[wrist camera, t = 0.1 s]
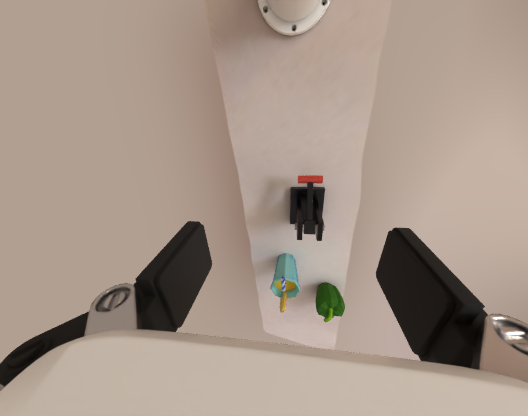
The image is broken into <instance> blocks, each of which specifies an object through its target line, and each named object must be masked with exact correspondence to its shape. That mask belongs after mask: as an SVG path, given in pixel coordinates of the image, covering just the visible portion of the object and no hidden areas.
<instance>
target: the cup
mask: <svg viewBox="0 0 528 416" xmlns="http://www.w3.org/2000/svg"><path fill="white" fill-rule="evenodd" d="M270 288H271V290H272V291H273V293H274V294H275V296H278V297H281V299H280V312H284V311H285V307H286V299H288V298H292V297H296V296H297V294H298V293H299V291H300V286H299V283H298V276H297V270H296V263H295V259H294V257H293V256H292V255H289V254H282V255H280V256H279V258H278V261H277V265H276V270H275V274H274V279H273V282H272V284H271V287H270Z"/></svg>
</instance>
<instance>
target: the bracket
mask: <svg viewBox="0 0 528 416" xmlns="http://www.w3.org/2000/svg"><path fill="white" fill-rule="evenodd" d="M324 194H325V188H324V187H313V210H312V220H315V234H316V239H317V241H322V233H323V231H324V228H325V227H324V222H323V219H322V212H323V203H324ZM304 220H307V187H291V208H290V224H295V230H297V240H302V230H303V224H304Z"/></svg>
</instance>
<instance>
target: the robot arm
mask: <svg viewBox="0 0 528 416" xmlns="http://www.w3.org/2000/svg"><path fill="white" fill-rule="evenodd" d="M257 1H258V5H259V8H260V11H261V13H262V15H263V17H264V19H265V21H266V22H267V23H268V25H269V26H270V27H271V28H272V29H274V30H275V31H276V32H278V33H280V34H283V35H287V36H295V35H299V34H302V33H304V32H306V31H308V30H310V29H311V28H312V27H313V26H314V25H316V23H317V22H318V21H319V20H320V19H321V18H322V16H323V14H324V13H325V11H326V10H327V7H328V5H329V3H330V1H331V0H257ZM322 3H325V6H323V5H322ZM265 10H267V13H265ZM293 28H295V31H293V30H292V29H293ZM211 266H212V260H211V256H210V251H209V247H208V243H207V238H206V234H205V230H204V226H203V225H202V224H201V223H200V222H193V221H192V222H191V221H189V222H187V223H186V224H185V225H184V226H183V227H182V228H181V230H180V231H179V232H178V233H177V234H176V235H175V236H174V237H173V238H172V239H171V240H170V242H169V243H168V244H167V245H166V246H165V247H164V248H163V249H162V250H161V251H160V253H159V254H158V255H157V256H156V257H155V258H154V259H153V260H152V261H151V262H150V263H149V265H148V266H147V267H146V268H145V269H144V270H143V271H142V272H141V273H140V275H139V276H138V277H137V278H136V281H137V282H136V283H135V284H134V285H132V284H128V283H124V284H119V285H115V286H113V287H111V288H109V289H107V290H106V291H104V292H103V293H101V294H100V295H99V296H98V297H97V298H96V299H95V300H94V301H93V303H92V305H91V307H90V310H89V312H87V313H85V314H82V315H80V316H78V317H76V318H74V319H72V320H70V321H68V322H65V323H64V324H61V325H59V326H57V327H55V328H53V329H51V330H48V331H46V332H44V333H42V334H40V335H38V336H36V337H34V338H32V339H30V340H28V341H26V342H25V343H23V344H22V345H20V346H19V347H17V348H16V349H15V350H14V351H12V352H11V353H10V354H9V355H8V356H7V357H6V358H5V359H4V360H3V362H2V363H1V364H0V416H528V324H526V323H524V322H522V321H520V320H518V319H515V318H513V317H510V316H506V315H502V314H490V315H488V314H487V313H486V312H485V311H484V310H483V308H484V307H485V306H484V305H483V304H482V303H481V302H480V301H479V300H478V299H477V298H476V297H475V296H474V295H473V294H472V293H471V292H470V291H469V289H468V288H467V287H466V286H465V285H464V284H463V283H462V282H461V281H460V280H459V279H458V278H457V277H456V276H455V275H454V274H453V273H452V272H451V271H450V270H449V269H448V268H447V267H446V266H445V265H444V264H443V262H442V261H441V260H440V259H439V258H438V257H437V256H436V255H435V254H434V253H433V252H432V251H431V250H430V249H429V248H428V247H427V246H426V245H425V244H424V243H423V242H422V241H421V240H420V239H419V238H418V237H417V235H415V233H413V231H412V230H411V229H409V228H394V229H393V230H392V231H389V232H388V235H387V238H386V242H385V245H384V248H383V251H382V255H381V258H380V261H379V265H378V268H377V271H376V277H377V280H378V282H379V284H380V286H381V288H382V290H383V292H384V294H385V296H386V299H387V300H388V303H389V304H390V307H391V309H392V311H393V313H394V315H395V317H396V319H397V321H398V323H399V325H400V327H401V329H402V331H403V333H404V335H405V337H406V339H407V341H408V343H409V345H410V347H411V349H412V351H413V352H414V353H415V354H417V355H418V356H419V358H420V360H421V361H418V360H410V359H403V358H394V357H386V356H378V355H369V354H362V353H354V352H345V351H337V350H329V349H321V348H312V347H304V346H295V345H287V344H278V343H269V342H261V341H252V340H243V339H234V338H225V337H216V336H207V335H198V334H189V333H179V332H176V331H177V329H178V328H179V327H181V326H182V324H183V322H184V321H185V319H186V317H187V315H188V313H189V311H190V309H191V307H192V305H193V303H194V301H195V299H196V297H197V295H198V293H199V291H200V289H201V287H202V285H203V283H204V281H205V279H206V277H207V275H208V273H209V271H210V269H211Z"/></svg>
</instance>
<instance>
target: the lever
mask: <svg viewBox="0 0 528 416" xmlns="http://www.w3.org/2000/svg"><path fill="white" fill-rule="evenodd" d="M298 183H307V220H304V231H303V232H304V234H315V220H312V210H313V183H323V176H298Z"/></svg>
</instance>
